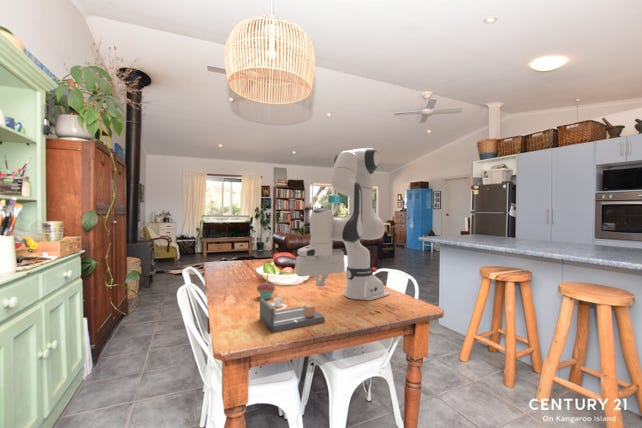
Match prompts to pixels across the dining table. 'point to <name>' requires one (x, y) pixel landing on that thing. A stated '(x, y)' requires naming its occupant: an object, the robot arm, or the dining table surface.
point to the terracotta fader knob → (309, 310)
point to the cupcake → (266, 289)
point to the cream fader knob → (273, 307)
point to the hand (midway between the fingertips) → (320, 285)
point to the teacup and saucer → (279, 303)
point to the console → (286, 317)
